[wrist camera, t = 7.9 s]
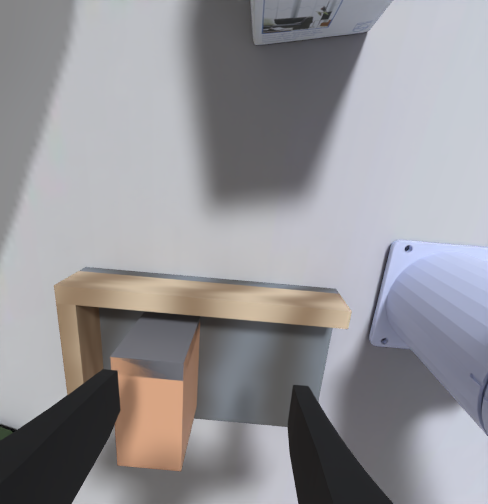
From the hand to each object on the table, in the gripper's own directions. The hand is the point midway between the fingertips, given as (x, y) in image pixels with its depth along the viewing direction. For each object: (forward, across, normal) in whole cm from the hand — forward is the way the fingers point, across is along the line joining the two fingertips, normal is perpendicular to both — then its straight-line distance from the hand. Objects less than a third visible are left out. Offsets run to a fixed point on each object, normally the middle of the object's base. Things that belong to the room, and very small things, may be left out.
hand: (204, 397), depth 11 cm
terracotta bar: (+8, +4, +5) cm, 11 cm away
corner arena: (+9, +1, +5) cm, 10 cm away
